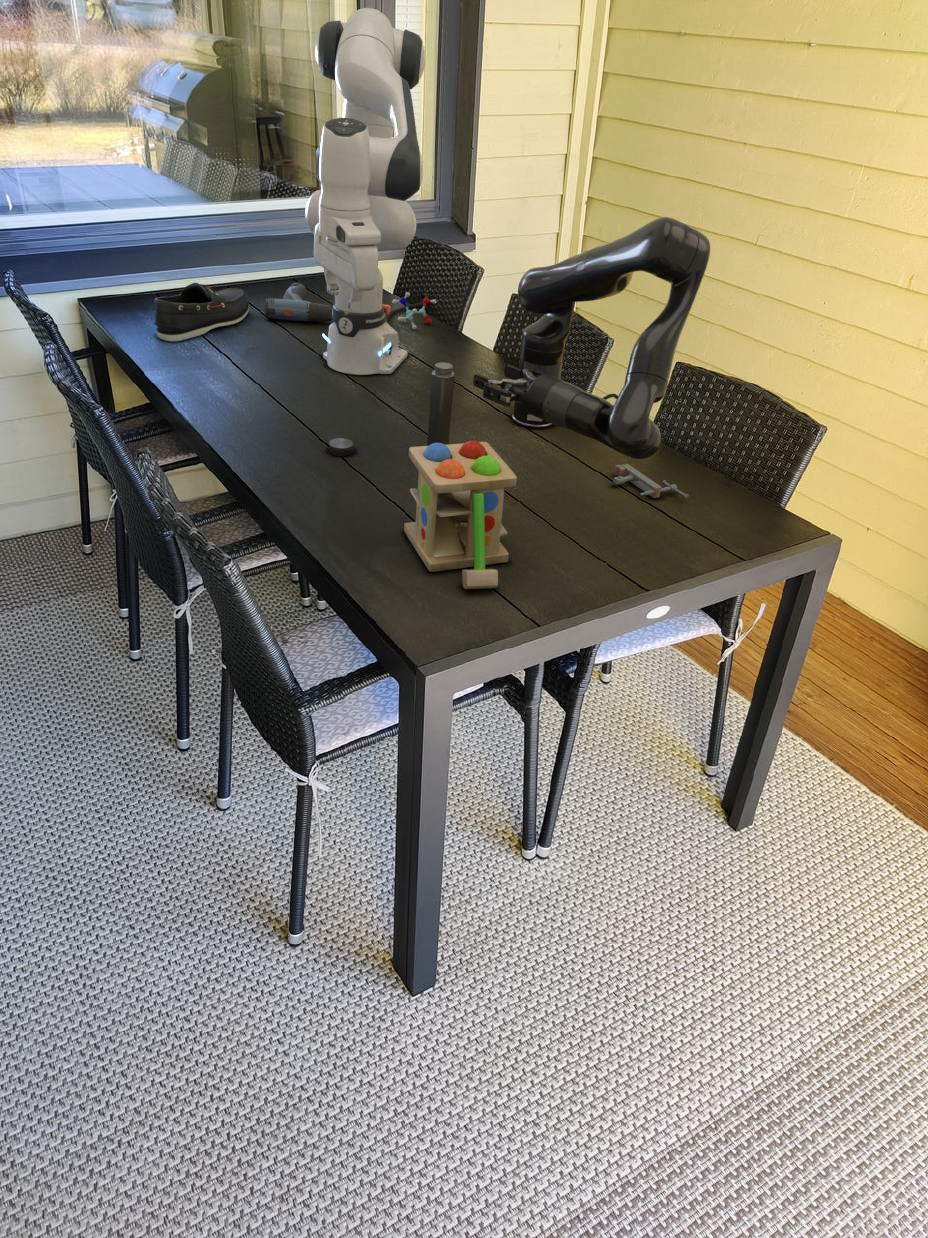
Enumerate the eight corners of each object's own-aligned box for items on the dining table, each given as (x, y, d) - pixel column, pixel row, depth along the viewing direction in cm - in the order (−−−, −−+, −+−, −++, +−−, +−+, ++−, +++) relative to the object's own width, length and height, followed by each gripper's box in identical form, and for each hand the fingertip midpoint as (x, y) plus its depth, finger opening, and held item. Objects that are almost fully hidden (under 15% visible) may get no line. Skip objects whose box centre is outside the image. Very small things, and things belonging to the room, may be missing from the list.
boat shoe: (267, 317, 262) (265, 277, 257) (175, 343, 238) (170, 300, 233) (232, 308, 268) (229, 269, 262) (138, 333, 244) (133, 291, 238)
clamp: (603, 467, 195) (642, 459, 200) (601, 477, 197) (640, 469, 201) (650, 500, 185) (691, 491, 190) (648, 510, 186) (688, 501, 191)
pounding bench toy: (528, 589, 159) (542, 490, 149) (446, 600, 155) (455, 499, 145) (478, 522, 177) (488, 429, 167) (403, 530, 172) (408, 435, 162)
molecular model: (429, 321, 258) (417, 284, 257) (398, 334, 262) (385, 297, 260) (444, 323, 268) (432, 287, 267) (414, 335, 272) (402, 300, 271)
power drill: (344, 304, 276) (335, 327, 259) (277, 298, 275) (264, 321, 258) (344, 285, 273) (335, 306, 256) (277, 279, 272) (264, 300, 255)
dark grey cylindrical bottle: (450, 458, 198) (457, 368, 188) (429, 460, 197) (436, 369, 186) (444, 449, 202) (451, 360, 191) (424, 450, 200) (429, 361, 190)
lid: (330, 445, 199) (330, 437, 198) (353, 446, 199) (353, 438, 198) (328, 455, 195) (328, 447, 194) (352, 457, 195) (352, 448, 194)
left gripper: (304, 209, 178) (305, 286, 186) (351, 237, 164) (349, 320, 172) (337, 208, 181) (336, 284, 189) (385, 236, 167) (382, 317, 175)
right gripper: (586, 373, 175) (517, 347, 184) (534, 390, 166) (465, 362, 175) (579, 413, 179) (513, 385, 188) (529, 432, 170) (462, 402, 179)
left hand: (343, 301), depth 180 cm, fingers open, 8 cm apart
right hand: (490, 374), depth 181 cm, fingers open, 8 cm apart
